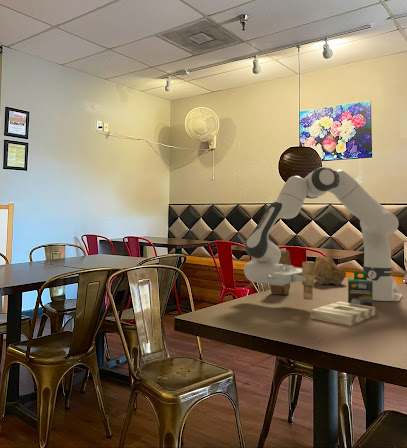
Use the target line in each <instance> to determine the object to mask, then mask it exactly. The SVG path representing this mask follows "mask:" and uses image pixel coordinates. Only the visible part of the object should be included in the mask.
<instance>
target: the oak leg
mask: <svg viewBox="0 0 407 448" xmlns="http://www.w3.org/2000/svg"><path fill="white" fill-rule="evenodd" d="M301 266H302V267H301V268H302V276H307V281H301V282H302V283H301V285H302V286H303V295H302V296H303V298H302V299H303V300H305V301H306V300H308V301H309V300H313V293H314V292H313V290H314V287H313V286H315V280H314V266H315V262H314V261H302V265H301Z"/></svg>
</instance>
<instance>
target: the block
mask: <svg viewBox="0 0 407 448" xmlns="http://www.w3.org/2000/svg"><path fill="white" fill-rule="evenodd" d="M290 255H291V254H290V251H289V250H281V259H280V261H279V264H284V265H291V258H290V257H291V256H290ZM291 284H292V283H289V284H285V285H284V286H278V285H271V284H270V293H271V294H273V295H279V296H285V295H288V294H289V292H290V289H291Z"/></svg>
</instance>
